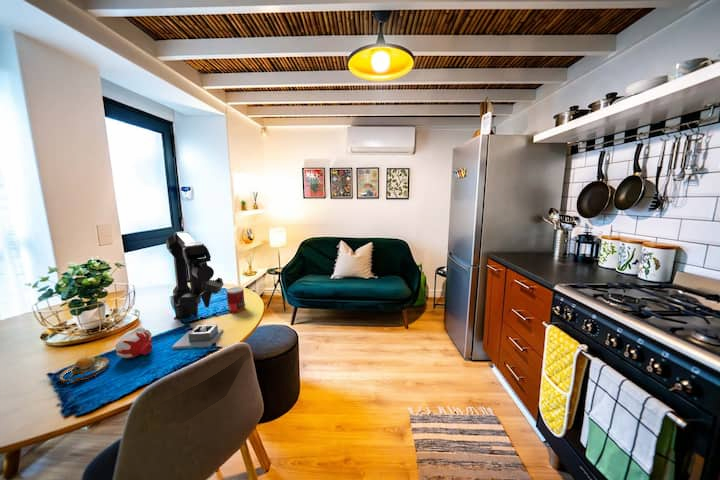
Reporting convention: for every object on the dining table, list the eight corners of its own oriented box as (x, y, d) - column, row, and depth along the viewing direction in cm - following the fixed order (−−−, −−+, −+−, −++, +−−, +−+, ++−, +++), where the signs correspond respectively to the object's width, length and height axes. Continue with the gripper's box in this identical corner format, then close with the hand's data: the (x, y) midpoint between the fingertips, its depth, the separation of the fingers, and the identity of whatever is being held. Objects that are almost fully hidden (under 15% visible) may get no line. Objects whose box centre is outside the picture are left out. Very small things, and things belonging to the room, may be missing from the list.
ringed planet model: (108, 357, 95) (104, 338, 94) (113, 371, 87) (109, 351, 86) (58, 374, 86) (54, 354, 85) (59, 391, 78) (54, 369, 77)
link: (189, 342, 102) (188, 334, 102) (198, 332, 109) (197, 325, 109) (210, 341, 103) (209, 333, 103) (218, 332, 110) (217, 324, 109)
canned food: (240, 312, 130) (239, 292, 128) (225, 312, 130) (223, 292, 128) (247, 306, 138) (246, 287, 136) (232, 306, 138) (231, 286, 136)
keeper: (172, 349, 100) (170, 337, 99) (189, 332, 111) (187, 322, 110) (210, 346, 101) (209, 335, 100) (223, 331, 113) (222, 320, 112)
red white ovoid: (140, 340, 104) (166, 352, 100) (105, 357, 94) (133, 370, 89) (139, 320, 102) (165, 331, 98) (103, 334, 92) (131, 347, 87)
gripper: (207, 282, 94) (212, 322, 96) (228, 268, 112) (231, 302, 115) (175, 283, 92) (180, 323, 95) (201, 269, 111) (205, 303, 113)
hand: (201, 312), depth 105 cm, fingers open, 9 cm apart
